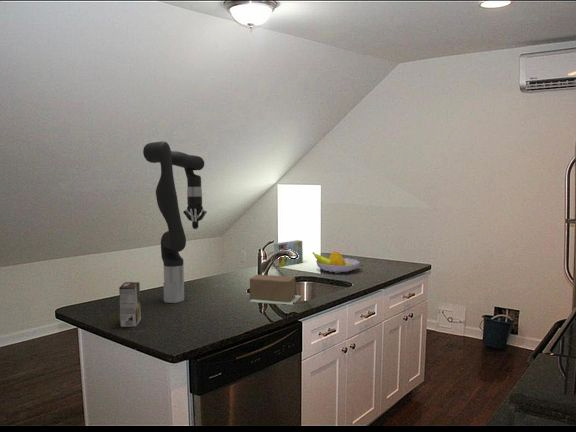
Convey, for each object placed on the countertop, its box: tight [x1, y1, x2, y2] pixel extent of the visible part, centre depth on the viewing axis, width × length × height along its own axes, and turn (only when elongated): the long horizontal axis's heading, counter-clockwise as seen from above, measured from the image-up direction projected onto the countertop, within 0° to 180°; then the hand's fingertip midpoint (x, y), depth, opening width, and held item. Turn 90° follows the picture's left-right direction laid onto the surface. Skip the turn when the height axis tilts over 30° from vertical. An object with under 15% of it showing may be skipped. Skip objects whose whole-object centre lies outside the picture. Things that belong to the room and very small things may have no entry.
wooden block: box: [249, 274, 296, 302], centre depth 236 cm, size 10×10×20 cm
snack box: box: [273, 239, 304, 268], centre depth 322 cm, size 21×6×15 cm, turn 133°
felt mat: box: [248, 294, 302, 306], centre depth 236 cm, size 16×21×1 cm
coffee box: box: [118, 281, 142, 328], centre depth 199 cm, size 9×6×16 cm
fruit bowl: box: [312, 251, 360, 274], centre depth 302 cm, size 28×27×11 cm
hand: (195, 228), depth 255 cm, fingers closed
